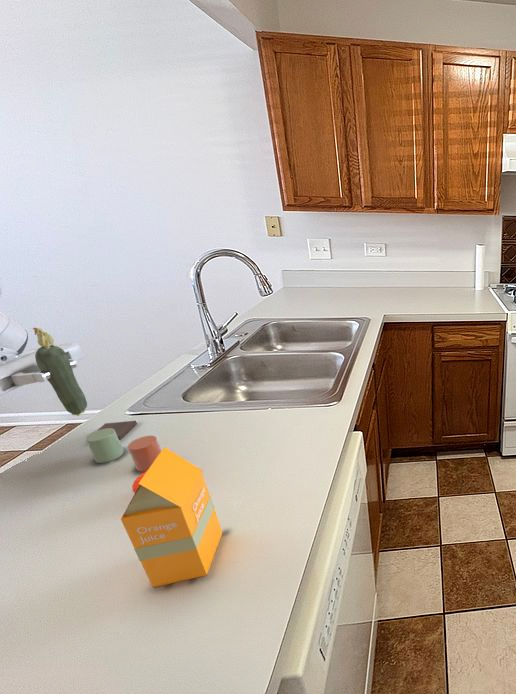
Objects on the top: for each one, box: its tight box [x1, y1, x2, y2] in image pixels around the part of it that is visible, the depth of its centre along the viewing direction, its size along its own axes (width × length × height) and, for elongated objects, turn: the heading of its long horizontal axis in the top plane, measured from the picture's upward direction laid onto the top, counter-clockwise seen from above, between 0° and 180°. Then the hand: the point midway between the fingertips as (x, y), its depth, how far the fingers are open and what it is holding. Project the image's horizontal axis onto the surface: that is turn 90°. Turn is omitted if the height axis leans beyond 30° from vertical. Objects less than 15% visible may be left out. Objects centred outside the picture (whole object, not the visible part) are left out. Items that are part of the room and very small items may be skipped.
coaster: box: [96, 420, 138, 441], centre depth 100 cm, size 7×7×1 cm
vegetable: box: [32, 327, 88, 417], centre depth 80 cm, size 4×4×20 cm
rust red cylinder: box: [127, 435, 162, 473], centre depth 88 cm, size 5×5×6 cm
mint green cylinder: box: [85, 428, 125, 464], centre depth 90 cm, size 5×5×6 cm
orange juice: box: [120, 446, 223, 588], centre depth 63 cm, size 8×9×20 cm
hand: (61, 370), depth 79 cm, fingers closed on vegetable, 4 cm apart
